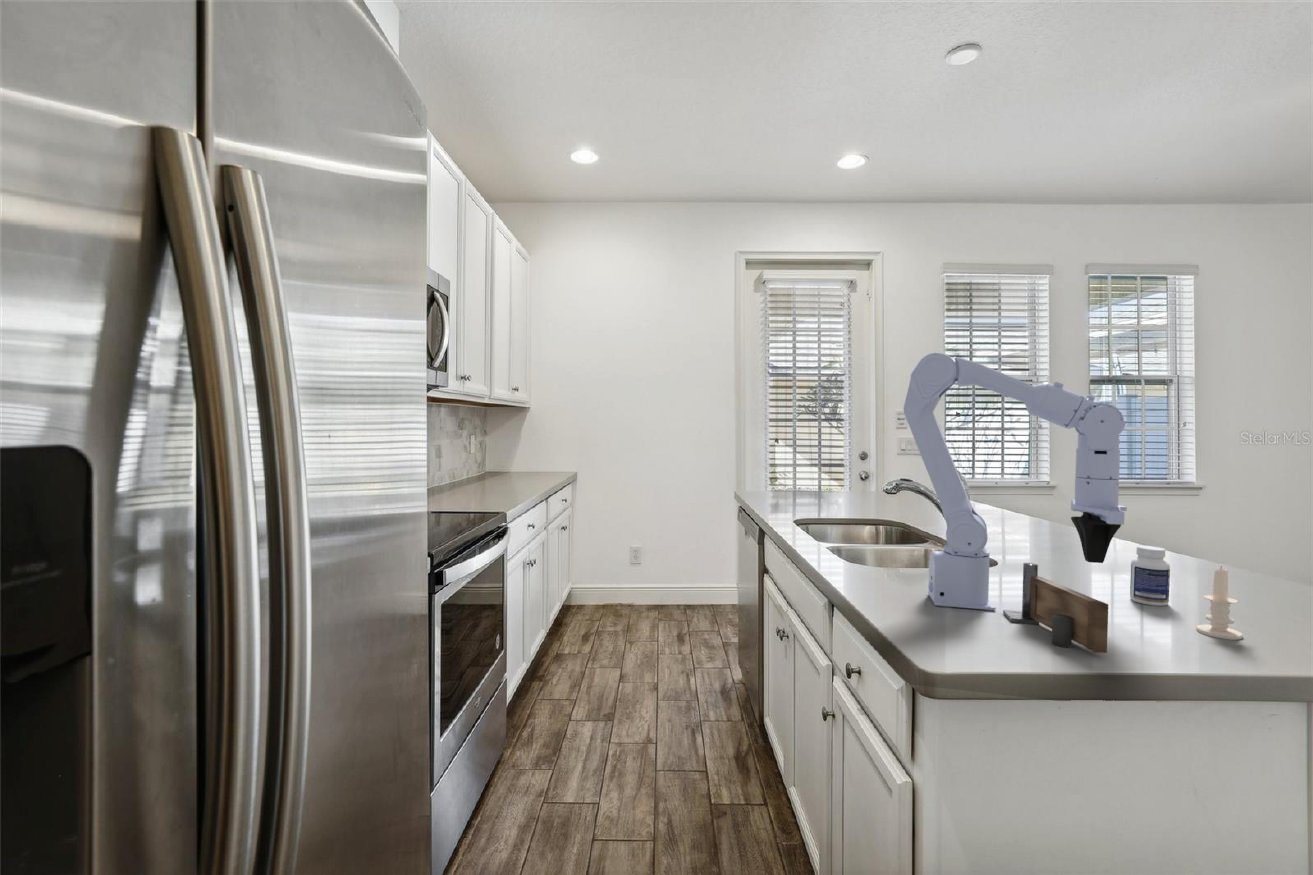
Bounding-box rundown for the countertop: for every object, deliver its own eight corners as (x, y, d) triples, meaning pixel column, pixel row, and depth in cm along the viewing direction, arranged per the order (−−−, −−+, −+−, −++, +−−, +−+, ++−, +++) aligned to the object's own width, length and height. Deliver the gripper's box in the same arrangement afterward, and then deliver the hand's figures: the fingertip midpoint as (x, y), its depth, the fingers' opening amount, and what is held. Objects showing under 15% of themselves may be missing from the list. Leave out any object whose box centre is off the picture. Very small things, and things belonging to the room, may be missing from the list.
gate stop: (1055, 646, 87) (1056, 618, 87) (1049, 640, 89) (1049, 613, 89) (1074, 648, 86) (1075, 620, 86) (1067, 642, 89) (1068, 614, 89)
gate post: (1011, 622, 97) (1012, 566, 97) (1003, 613, 102) (1004, 559, 101) (1040, 624, 96) (1042, 567, 96) (1031, 615, 101) (1033, 561, 100)
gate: (1029, 617, 97) (1030, 576, 97) (1039, 617, 97) (1040, 576, 97) (1095, 652, 83) (1096, 604, 83) (1106, 652, 83) (1108, 604, 83)
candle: (1188, 630, 94) (1191, 563, 94) (1207, 626, 96) (1209, 560, 96) (1231, 642, 90) (1234, 571, 89) (1250, 637, 92) (1252, 568, 91)
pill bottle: (1176, 607, 106) (1178, 551, 105) (1140, 605, 107) (1142, 550, 106) (1157, 598, 111) (1159, 545, 111) (1123, 596, 112) (1125, 543, 112)
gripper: (1149, 483, 90) (1146, 574, 91) (1105, 474, 104) (1102, 553, 105) (1094, 481, 92) (1091, 571, 93) (1058, 473, 106) (1056, 551, 107)
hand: (1094, 561), depth 99 cm, fingers closed
